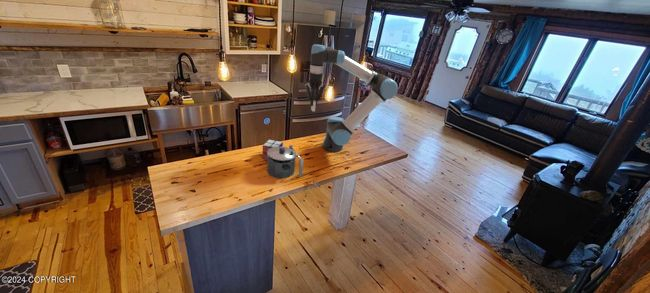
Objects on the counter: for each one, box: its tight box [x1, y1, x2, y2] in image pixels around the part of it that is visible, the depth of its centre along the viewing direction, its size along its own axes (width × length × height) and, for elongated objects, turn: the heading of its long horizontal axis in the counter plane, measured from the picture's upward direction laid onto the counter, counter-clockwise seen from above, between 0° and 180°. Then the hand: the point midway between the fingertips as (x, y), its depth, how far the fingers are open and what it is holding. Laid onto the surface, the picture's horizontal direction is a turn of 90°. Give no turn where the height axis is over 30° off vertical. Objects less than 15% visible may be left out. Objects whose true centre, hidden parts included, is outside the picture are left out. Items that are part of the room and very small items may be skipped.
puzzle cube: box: [262, 139, 284, 161], centre depth 175 cm, size 10×10×10 cm
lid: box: [267, 146, 302, 161], centre depth 157 cm, size 18×17×4 cm
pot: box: [266, 144, 304, 179], centre depth 161 cm, size 18×20×12 cm
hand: (313, 110), depth 169 cm, fingers closed
